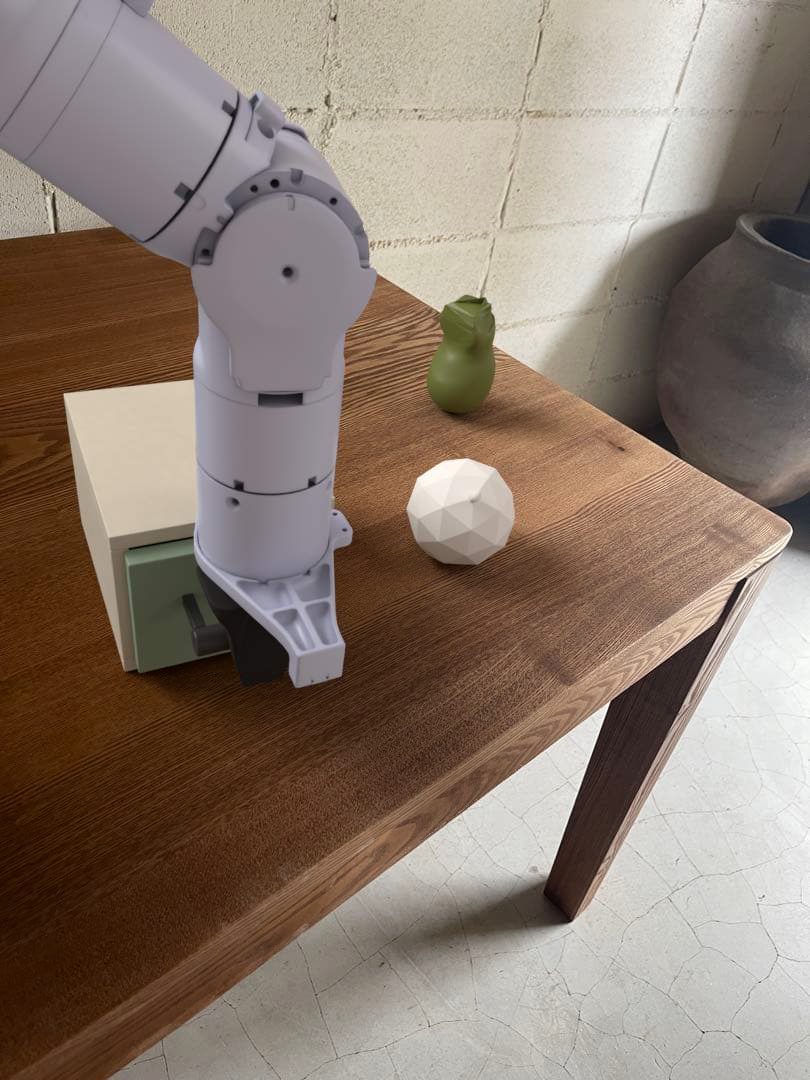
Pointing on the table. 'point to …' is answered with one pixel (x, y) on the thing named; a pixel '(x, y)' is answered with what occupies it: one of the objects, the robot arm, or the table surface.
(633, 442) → the table surface
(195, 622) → the drawer
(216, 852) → the table surface
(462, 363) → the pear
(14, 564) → the table surface
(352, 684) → the table surface
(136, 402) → the storage box
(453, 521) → the ornament
